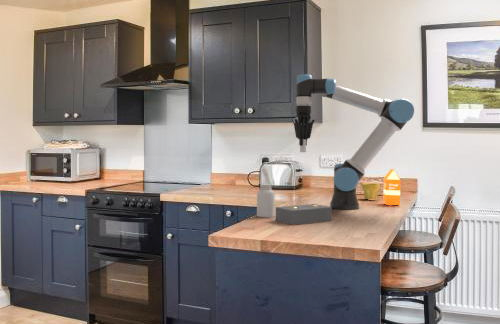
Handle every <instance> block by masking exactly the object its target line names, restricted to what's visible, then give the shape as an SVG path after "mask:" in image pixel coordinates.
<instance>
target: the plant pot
mask: <svg viewBox="0 0 500 324" xmlns="http://www.w3.org/2000/svg"><path fill="white" fill-rule="evenodd" d="M380 188H381V185H380V183H372V182H371V183H368V182H367V183H362V184H361V189H362V192H363V196H364V200H365V199H378V196H379V195H378V194H379V191H380Z"/></svg>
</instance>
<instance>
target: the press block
mask: <svg viewBox="0 0 500 324" xmlns="http://www.w3.org/2000/svg"><path fill="white" fill-rule="evenodd" d="M311 205H318V207H311ZM289 207H297V209H290V208H289ZM332 210H333V208H332V207H330V206H326V205H321V204H315V203H309V204H297V205H286V206H276V207H275V217H274V219H275V222H279V223H283V222H284V224H287V223H288V224H287V225H291V224H292V225H291V226H293V224H297V225H305V224H304V223H306V224H313V223H315V224H316V223H324V222H332V219H333V217H332V216H333V213H332Z"/></svg>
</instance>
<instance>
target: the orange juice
mask: <svg viewBox="0 0 500 324" xmlns="http://www.w3.org/2000/svg"><path fill="white" fill-rule="evenodd" d="M401 182H402V181H401V179H400V177H399V175H398V174H397V172H396V171H395V170H394V169H393V168H391V169H389V171H388V172H387V173H386V175H385V176H384V178H383V190H382V191H383V199H382V201H383V202H382V203H384V204H386V205H400V206H401ZM384 204H383V205H384ZM386 205H385V206H386Z"/></svg>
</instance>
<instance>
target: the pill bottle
mask: <svg viewBox="0 0 500 324" xmlns="http://www.w3.org/2000/svg"><path fill="white" fill-rule="evenodd" d="M259 186H260V187H259V188H260V189H259V190H258V191H257V193H256V194H257V195H256V216H257V217H259V218H264V219H265V218H267V219H268V218H274V217H275V191H274V190H272V189H273V188H272V187H273V186H272V184H271V183H261V184H259Z"/></svg>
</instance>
